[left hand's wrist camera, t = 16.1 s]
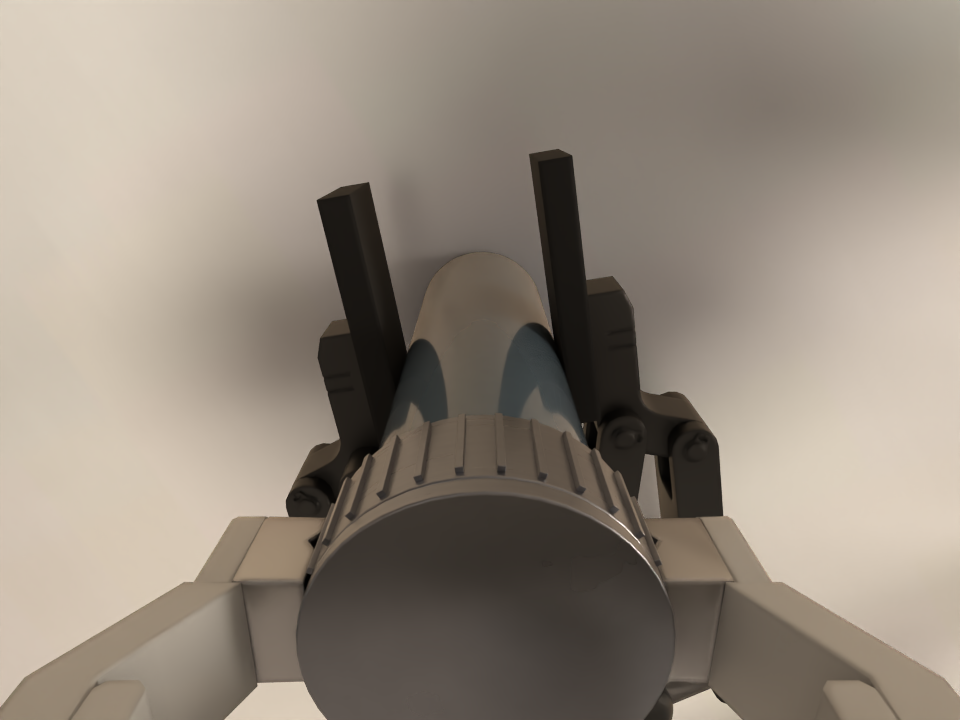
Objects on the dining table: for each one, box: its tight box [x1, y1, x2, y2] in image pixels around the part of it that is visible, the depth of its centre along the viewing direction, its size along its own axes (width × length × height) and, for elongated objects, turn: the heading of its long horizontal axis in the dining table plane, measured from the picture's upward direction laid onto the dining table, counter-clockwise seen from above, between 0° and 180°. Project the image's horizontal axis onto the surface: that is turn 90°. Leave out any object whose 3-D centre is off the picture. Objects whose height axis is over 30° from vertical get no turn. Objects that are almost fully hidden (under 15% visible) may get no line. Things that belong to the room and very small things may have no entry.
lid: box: [296, 413, 676, 720], centre depth 9 cm, size 5×5×2 cm
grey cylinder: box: [379, 252, 589, 449], centre depth 16 cm, size 4×4×15 cm
